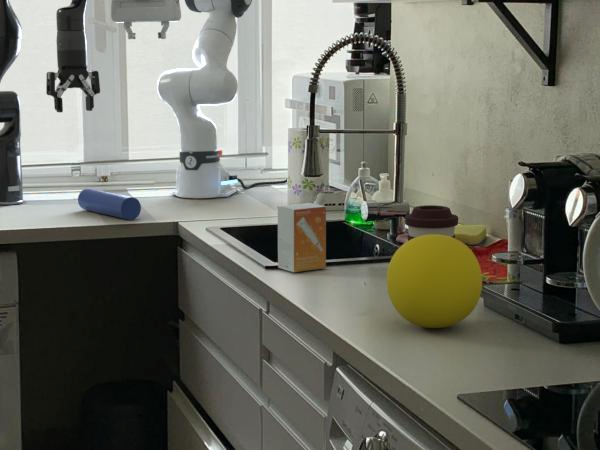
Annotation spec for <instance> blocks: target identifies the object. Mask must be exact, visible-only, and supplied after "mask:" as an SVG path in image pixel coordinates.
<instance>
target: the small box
mask: <svg viewBox="0 0 600 450" xmlns="http://www.w3.org/2000/svg"><path fill="white" fill-rule="evenodd" d="M277 268H278V269H280V270H283V271H287V272H290V273H299V272H304V271H305V272H306V271H315V270H321V269H322V270H324V269H326V268H327V206H326V205H322V204H317V203H313V202H303V203H294V204H287V205H286V204H285V205H278V206H277Z"/></svg>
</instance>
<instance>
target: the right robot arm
mask: <svg viewBox="0 0 600 450" xmlns="http://www.w3.org/2000/svg"><path fill="white" fill-rule="evenodd" d="M252 2H253V0H184V3H185V5H186V7H187V8H188V10H189V11H191V12H195V13H208V15H209V16H208V18H207V20H206V21H205V23H204V24H203V26H202V27H201V30H200V31H199V33H198V35H197V40H196V41H195V44H194V45H193V49H192V50H191V51H192V53H191V55H192V60H193V62H194V63H195V65H196V66H197V67H198V68H175V69H170V70H166V71H164V72H162V73H161V74H160V75H159V78H158V80H157V84H156V90H157V94H158V96H159V98H160V99H161V100H162V102H163V103H165V104H166V105H167V106H168V107H169V109H171V111H172V112H173V114H174V116H175V117H176V120H177V124H178V129H179V138H180V141H179V142H180V150H179V154H178V158H179V162H180V164H179V166H178V167H177V168H176V172H175V174H176V175H175V190H173V191H172V192H171V193H172V194H171V195H173V196H176V197H178V198H185V199H212V198H213V199H214V198H227V197H228V198H229V197H230V196H231V195H233V194H235V193H236V192H237V191H238V187H236V186H231V185H233V184H238V183H239V184H240V186H241V188H242V189H243V190H248V189H251V188H253V187H256V186H265V185H282V184H286V183H288V182H287V178H286V179H285V180H277V181H259V182H254V183H251V184H250V185H248V186H246V185H245V184H244V181H243V180H242V179H241V178H239V177H238V175H237V174H231V173H229V171H228V170H227V169H226V168H225V166H223V164H221V162H220V161H221V158H220V157H223V150H222V149H218V146H217V145H218V141H217V126H216V124H215V123H214V121H213V120H212V119H210V118H208V117H207V116H205V115H204V114H203V113H202V110H201V108H200V106H220V105H225V104H229V103H232V102H233V101H234V100H235V98H236V97H237V94H238V90H239V85H238V80H237V78H236V75H234V73H233V72H232V71H230V69H228V66H227V64H228V60H229V57H230V53H231V52H232V49H233V47H234V43H235V39H236V35H237V27H238V25H237V19H238V18H239V19H240V18H241V17H243V16H244V14H245V12H247V11H248V9H249V8H250V7H251V5H252ZM110 17H111V20H112V22H113V23H117V24H119V23H121V24H122V23H123V28H124V30H125V31H126V33H127V39H128V40H136V37H137V36H136V32H133V30H132V27H133V23H160V25H161V30H160V31H159V32H157V38H158V40H166V39H167V32H168V29H169V28H170V23H171V22H173V23H175V22H177V23H178V22H180V20H181V19H182V9H181V4H180V0H111V4H110ZM236 18H237V19H236Z"/></svg>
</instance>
